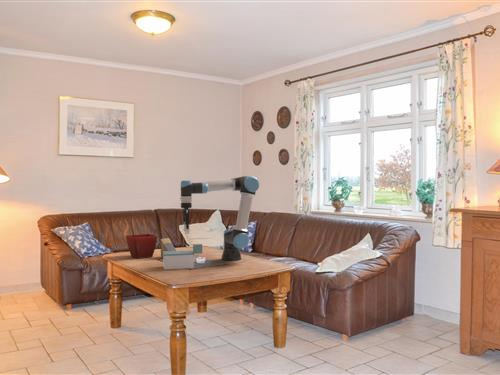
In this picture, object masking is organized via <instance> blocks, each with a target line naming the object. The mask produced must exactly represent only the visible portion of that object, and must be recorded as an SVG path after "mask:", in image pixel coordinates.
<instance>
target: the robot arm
mask: <svg viewBox="0 0 500 375" xmlns="http://www.w3.org/2000/svg"><path fill="white" fill-rule="evenodd" d="M259 189H260V181H259V179H258V178H257V177H255V176H252V175H245V176H243V175H242V176H239V177H234V178H230V179H225V180H215V181H200V182H192V180H181V181H180V197H179V199H180V208H181V209H183V211H182V212H183V232H185V234H186V235H188V234H190V222H191V221H190V210H189V209H191V208H192V207H193V206H192V205H193V204H192V202H193V201H192V200H193V199H192V197H193V196H192V194H193V195H194V194H195V195H196V194H203V195H204V194H207V193H209V192H219V191H230V190H231V191H232V192H237V191H238V192H239V194H240V201H239V206H238V211H237V212H238V213H237V218H236V224H235V227H233V228H232V229H230V228H229V229H224V231H223V252H222V255H221V260H223V261H240V260H242V254H241V250H240V249H245V248H246V247H247V246H248V245H249V243H250V237H249V230H248V224H249V218H250V212H251V209H252V208H251V207H252V203H253V197H255V196H256V193H257V191H258V190H259Z"/></svg>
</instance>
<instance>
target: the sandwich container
mask: <svg viewBox="0 0 500 375" xmlns="http://www.w3.org/2000/svg"><path fill="white" fill-rule="evenodd" d="M163 251H177V249H176V248H175V246H174V244H173V243H172V241H171V239H170V238H169V237H168V238H167V237H166V238H165V237H164V238H161V239H160V259H163Z"/></svg>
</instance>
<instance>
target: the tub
mask: <svg viewBox="0 0 500 375" xmlns="http://www.w3.org/2000/svg"><path fill="white" fill-rule="evenodd" d="M162 263H163V264H162V265H163V269H164V270H165V271H166V270H181V269H195V254H194V255H174V256H164V255H163V258H162Z"/></svg>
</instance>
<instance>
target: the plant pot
mask: <svg viewBox="0 0 500 375" xmlns="http://www.w3.org/2000/svg"><path fill="white" fill-rule="evenodd" d="M125 238H126V243H127V247H128V250H129V254H130V256H131V257H133V258H135V259H144V258H152V257H153V256H154V254H155V249H156V247H157V242H158V235H156V234H151V233H143V234H140V233H139V234H130V235H126V236H125Z"/></svg>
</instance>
